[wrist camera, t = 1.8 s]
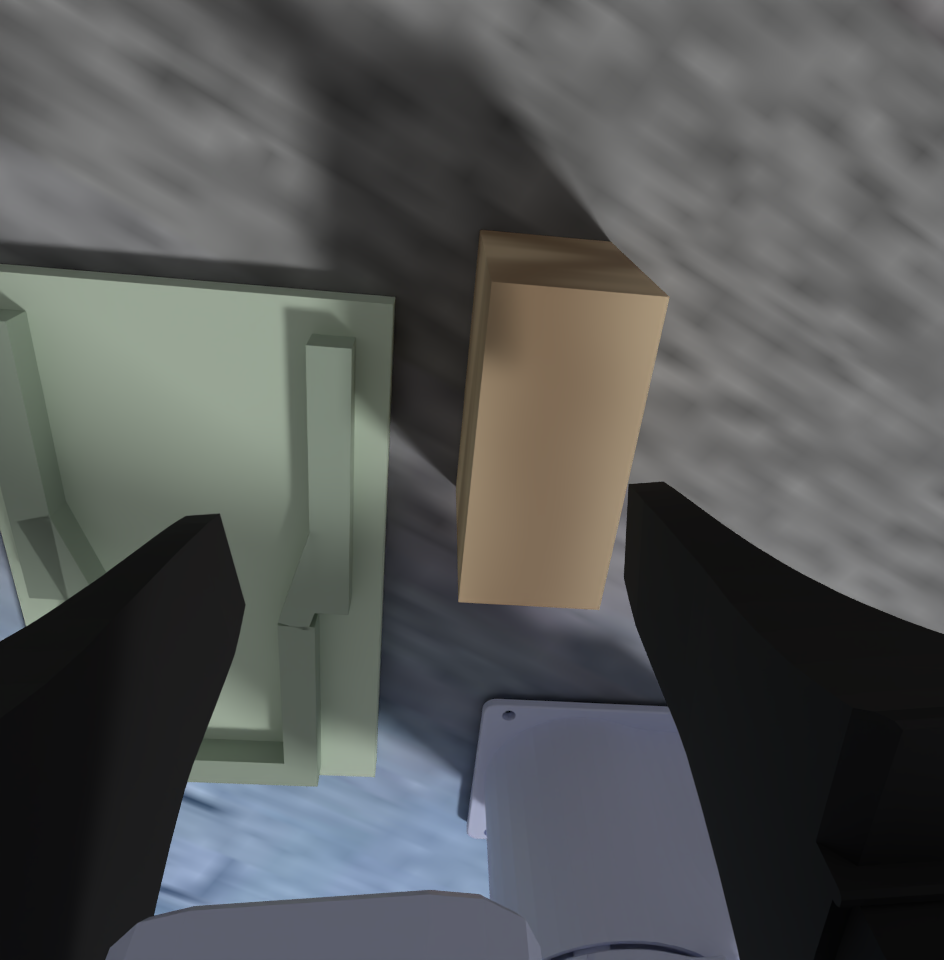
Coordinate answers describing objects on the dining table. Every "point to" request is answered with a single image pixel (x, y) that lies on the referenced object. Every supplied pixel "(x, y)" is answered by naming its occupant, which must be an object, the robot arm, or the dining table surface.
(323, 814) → the dining table surface
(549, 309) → the panel block
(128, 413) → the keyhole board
